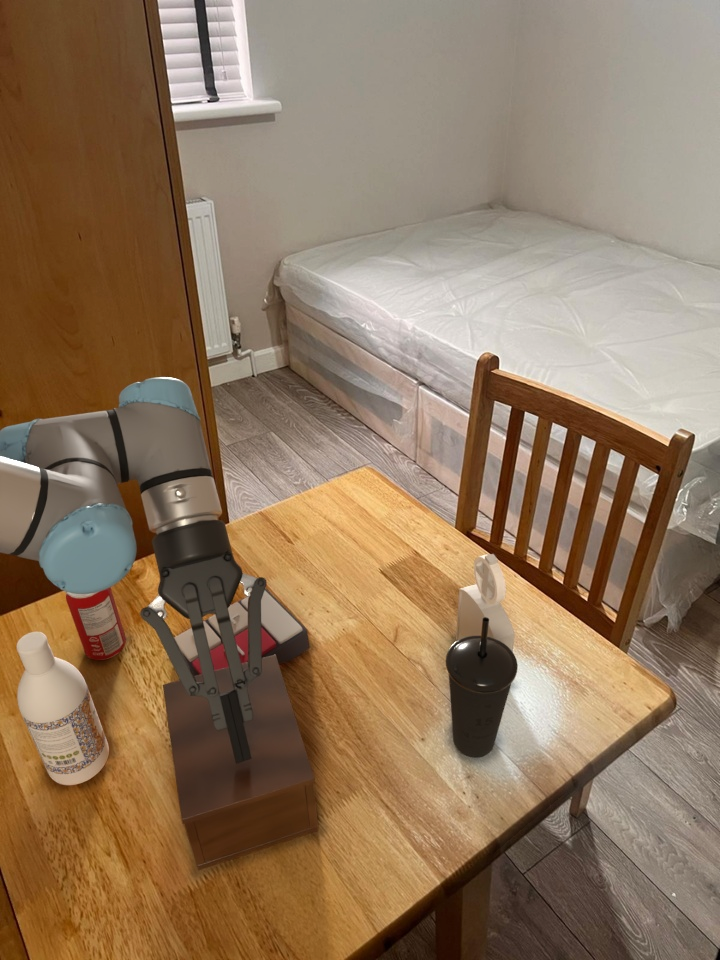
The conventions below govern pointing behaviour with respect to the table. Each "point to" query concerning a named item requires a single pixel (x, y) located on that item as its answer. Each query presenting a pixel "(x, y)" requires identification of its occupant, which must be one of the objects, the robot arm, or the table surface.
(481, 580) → the gravestone
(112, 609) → the soda can
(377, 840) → the table surface
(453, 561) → the table surface
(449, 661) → the drinking cup
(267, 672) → the chest lid
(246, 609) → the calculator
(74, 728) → the bath foam
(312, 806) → the chest
